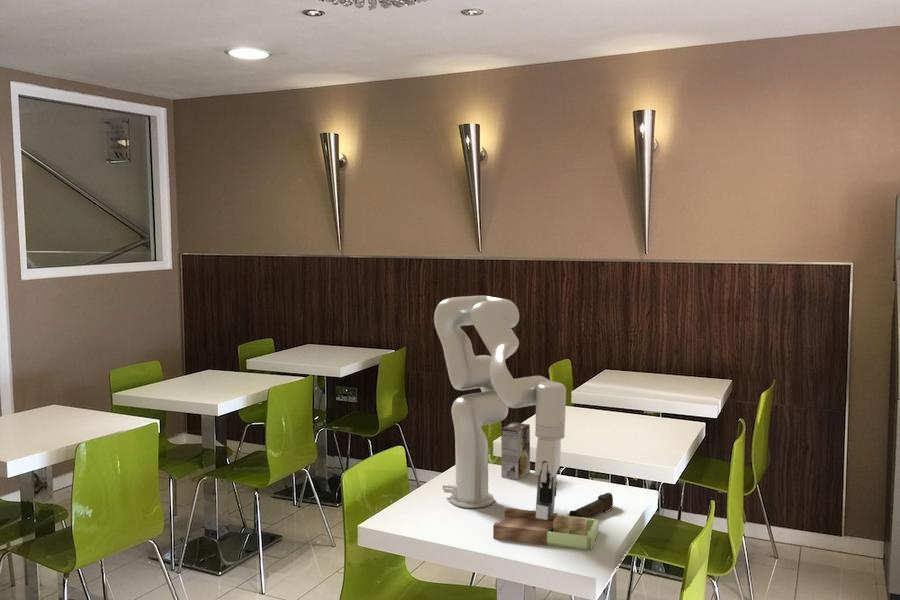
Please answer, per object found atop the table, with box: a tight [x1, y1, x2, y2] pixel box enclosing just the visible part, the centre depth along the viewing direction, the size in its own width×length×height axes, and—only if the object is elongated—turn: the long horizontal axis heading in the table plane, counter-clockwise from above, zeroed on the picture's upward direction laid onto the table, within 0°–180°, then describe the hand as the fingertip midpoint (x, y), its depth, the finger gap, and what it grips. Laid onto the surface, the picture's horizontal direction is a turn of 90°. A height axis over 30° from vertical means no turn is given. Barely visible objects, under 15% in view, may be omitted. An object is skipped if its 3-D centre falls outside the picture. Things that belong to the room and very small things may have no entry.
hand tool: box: [568, 492, 614, 518], centre depth 212 cm, size 19×4×5 cm, turn 134°
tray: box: [546, 514, 600, 551], centre depth 196 cm, size 11×13×3 cm
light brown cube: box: [553, 515, 572, 534], centre depth 197 cm, size 4×4×4 cm
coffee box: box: [500, 421, 531, 480], centre depth 248 cm, size 9×6×16 cm
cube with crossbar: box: [535, 471, 558, 520], centre depth 198 cm, size 4×8×12 cm, turn 161°
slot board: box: [492, 507, 558, 546], centre depth 200 cm, size 14×13×4 cm
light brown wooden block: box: [569, 517, 587, 536], centre depth 196 cm, size 4×4×4 cm
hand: (547, 498), depth 198 cm, fingers closed on cube with crossbar, 4 cm apart
